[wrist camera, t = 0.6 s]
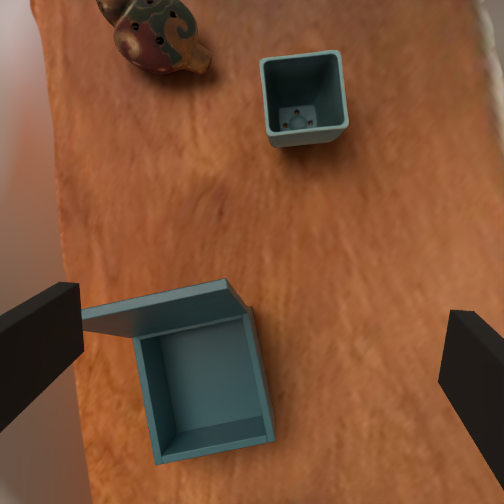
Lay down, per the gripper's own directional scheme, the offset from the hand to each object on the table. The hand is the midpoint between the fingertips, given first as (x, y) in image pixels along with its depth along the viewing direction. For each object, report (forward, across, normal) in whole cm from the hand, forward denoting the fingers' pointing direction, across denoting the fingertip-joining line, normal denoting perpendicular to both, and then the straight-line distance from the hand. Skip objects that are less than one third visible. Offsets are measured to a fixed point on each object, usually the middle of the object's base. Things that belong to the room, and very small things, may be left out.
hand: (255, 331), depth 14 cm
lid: (+19, +9, +8) cm, 22 cm away
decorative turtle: (+44, +17, -18) cm, 51 cm away
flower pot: (+42, -1, -9) cm, 43 cm away
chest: (+31, +7, +21) cm, 38 cm away
